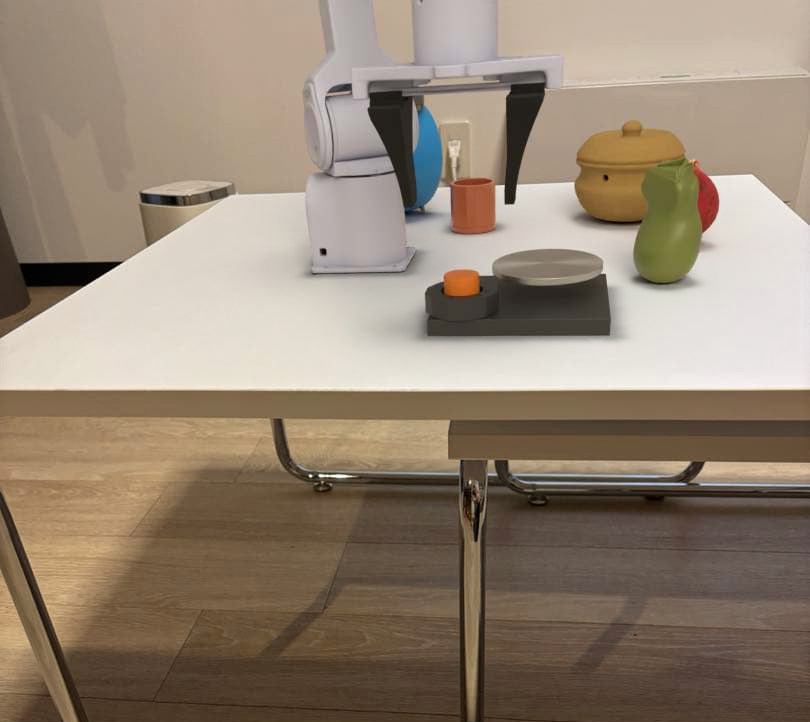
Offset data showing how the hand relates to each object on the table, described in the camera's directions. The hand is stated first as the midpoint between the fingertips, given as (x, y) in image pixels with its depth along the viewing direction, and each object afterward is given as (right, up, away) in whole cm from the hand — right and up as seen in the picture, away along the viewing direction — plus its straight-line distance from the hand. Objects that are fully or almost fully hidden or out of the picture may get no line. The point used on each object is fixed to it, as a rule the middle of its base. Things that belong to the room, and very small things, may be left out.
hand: (459, 203), depth 61 cm
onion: (+24, +4, +21) cm, 32 cm away
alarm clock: (-6, +16, +42) cm, 46 cm away
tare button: (0, -6, +4) cm, 7 cm away
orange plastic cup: (+4, +11, +33) cm, 35 cm away
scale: (+6, -6, +7) cm, 11 cm away
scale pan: (+8, -3, +6) cm, 10 cm away
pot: (+21, +11, +33) cm, 40 cm away
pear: (+19, -2, +12) cm, 22 cm away
